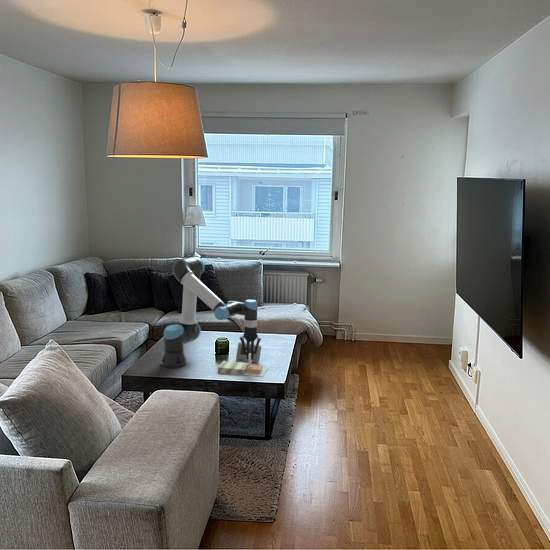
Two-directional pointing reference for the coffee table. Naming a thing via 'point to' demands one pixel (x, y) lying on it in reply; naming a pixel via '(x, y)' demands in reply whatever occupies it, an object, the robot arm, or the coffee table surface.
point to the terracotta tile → (254, 369)
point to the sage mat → (257, 374)
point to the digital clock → (243, 356)
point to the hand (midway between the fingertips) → (250, 364)
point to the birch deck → (233, 367)
